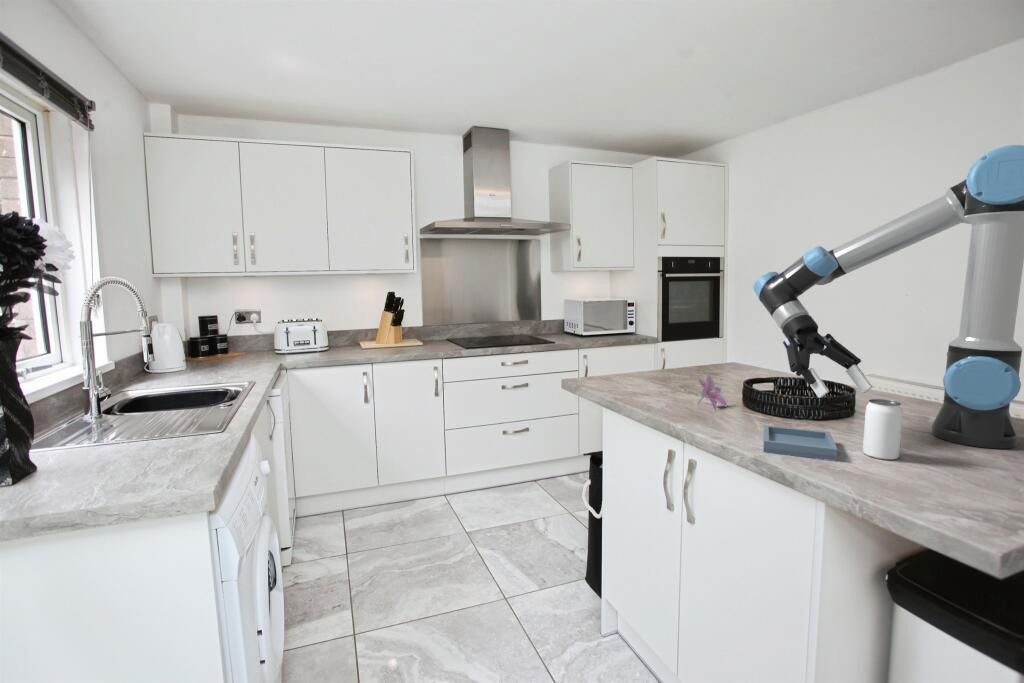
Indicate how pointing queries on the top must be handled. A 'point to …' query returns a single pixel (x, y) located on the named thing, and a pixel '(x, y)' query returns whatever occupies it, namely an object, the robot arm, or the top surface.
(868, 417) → the can
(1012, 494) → the top surface
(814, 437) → the tray
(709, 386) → the lily
